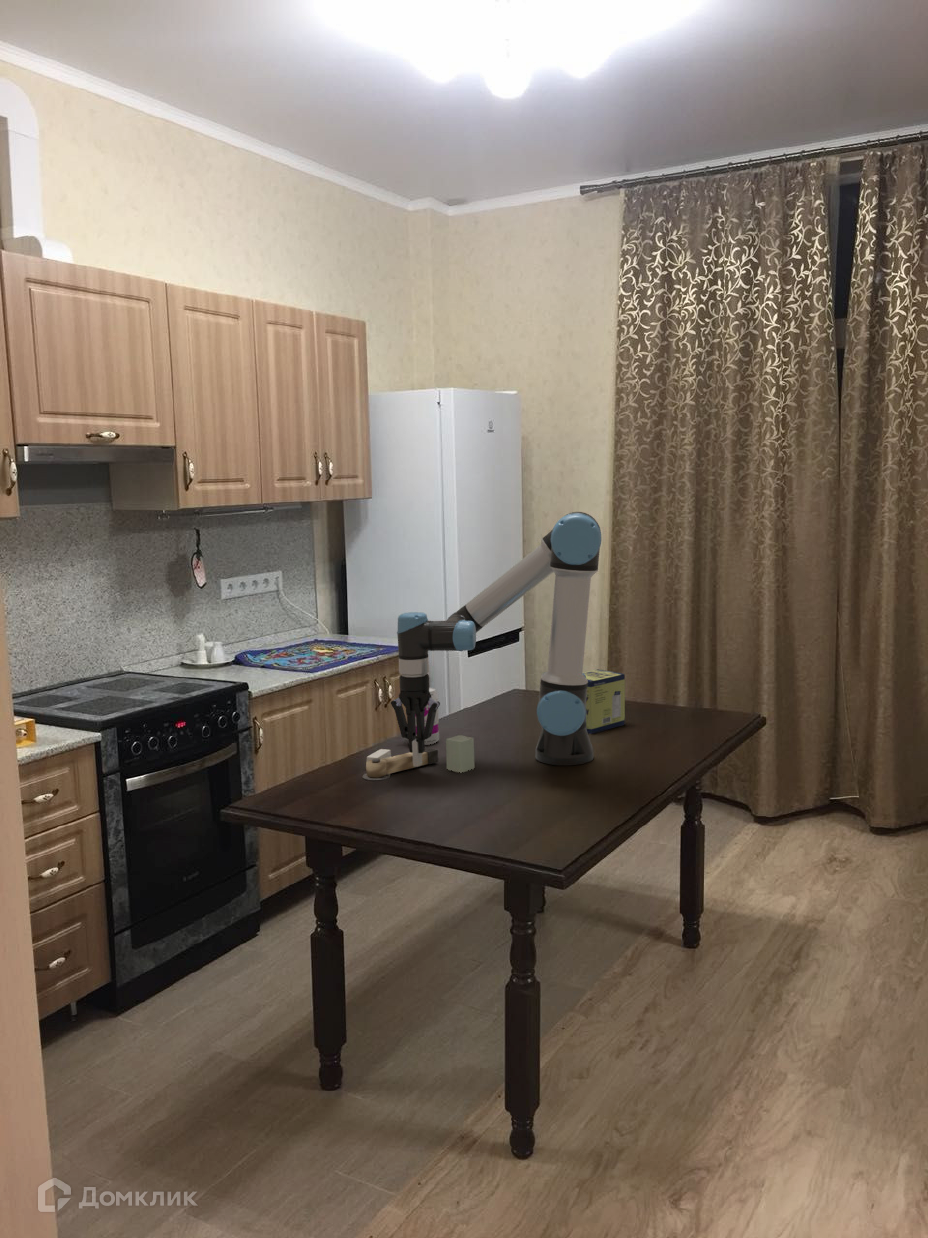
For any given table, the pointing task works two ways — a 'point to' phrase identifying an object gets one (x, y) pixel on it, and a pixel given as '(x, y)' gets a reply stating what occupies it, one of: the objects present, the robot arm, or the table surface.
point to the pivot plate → (376, 777)
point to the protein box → (604, 700)
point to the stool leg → (398, 763)
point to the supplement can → (435, 731)
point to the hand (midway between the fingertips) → (417, 765)
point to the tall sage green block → (460, 753)
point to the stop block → (380, 754)
